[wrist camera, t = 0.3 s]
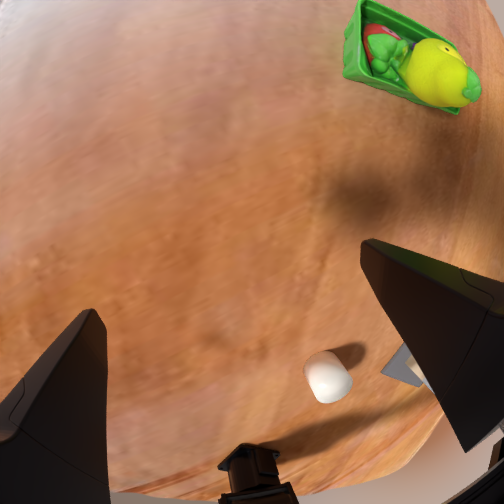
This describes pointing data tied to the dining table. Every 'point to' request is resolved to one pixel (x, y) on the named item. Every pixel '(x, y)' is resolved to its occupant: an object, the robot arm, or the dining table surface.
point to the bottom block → (414, 367)
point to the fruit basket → (406, 59)
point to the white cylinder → (327, 377)
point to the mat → (401, 368)
